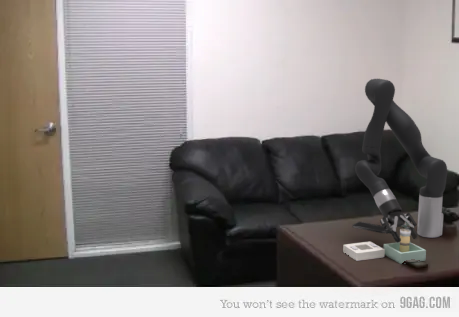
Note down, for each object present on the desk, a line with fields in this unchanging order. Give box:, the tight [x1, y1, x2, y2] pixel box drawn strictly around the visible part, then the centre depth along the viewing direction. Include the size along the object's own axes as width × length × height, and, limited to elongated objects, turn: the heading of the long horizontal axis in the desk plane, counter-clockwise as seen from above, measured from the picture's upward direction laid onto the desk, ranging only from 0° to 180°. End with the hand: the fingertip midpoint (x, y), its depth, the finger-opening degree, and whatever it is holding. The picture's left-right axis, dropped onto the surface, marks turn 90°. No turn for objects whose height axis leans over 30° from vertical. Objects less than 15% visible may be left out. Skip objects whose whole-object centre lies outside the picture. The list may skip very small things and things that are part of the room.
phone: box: [351, 221, 386, 234], centre depth 251 cm, size 8×1×15 cm
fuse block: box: [342, 241, 385, 262], centre depth 218 cm, size 12×10×3 cm
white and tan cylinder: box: [399, 228, 412, 253], centre depth 215 cm, size 4×4×10 cm
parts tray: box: [383, 241, 427, 265], centre depth 215 cm, size 11×11×4 cm
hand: (407, 239), depth 213 cm, fingers open, 8 cm apart
